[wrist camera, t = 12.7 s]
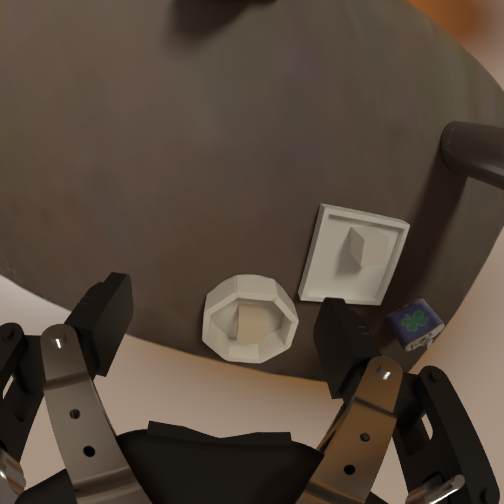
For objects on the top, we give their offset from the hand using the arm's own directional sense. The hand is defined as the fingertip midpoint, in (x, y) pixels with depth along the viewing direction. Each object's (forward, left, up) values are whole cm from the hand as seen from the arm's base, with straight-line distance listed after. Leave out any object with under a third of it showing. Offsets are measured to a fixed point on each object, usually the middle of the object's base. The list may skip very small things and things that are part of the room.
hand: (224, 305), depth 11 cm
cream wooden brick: (-5, +21, -27) cm, 35 cm away
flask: (-36, +19, -28) cm, 49 cm away
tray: (-20, +9, -28) cm, 36 cm away
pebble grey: (-20, +5, -27) cm, 34 cm away
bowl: (-5, +21, -28) cm, 35 cm away
